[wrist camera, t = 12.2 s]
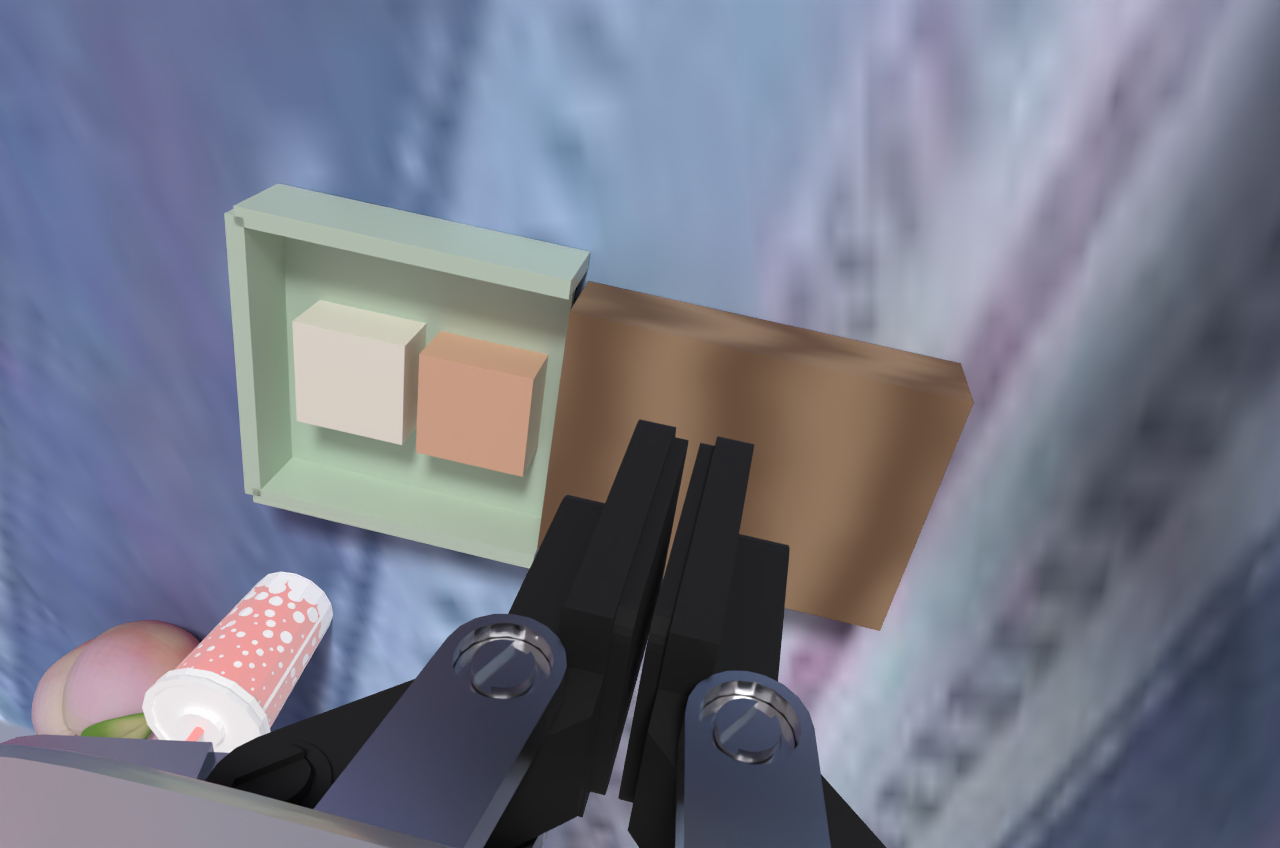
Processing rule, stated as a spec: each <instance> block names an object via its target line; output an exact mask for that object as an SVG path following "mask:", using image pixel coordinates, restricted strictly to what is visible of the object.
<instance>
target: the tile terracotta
mask: <svg viewBox="0 0 1280 848" xmlns="http://www.w3.org/2000/svg"><path fill="white" fill-rule="evenodd" d="M547 363H548V354H543V353H539V352H534V351H530V350H525V349H521V348H516V347H511V346H507V345H502V344H498V343H493V342H489V341H484V340H480V339H475V338H471V337H466V336H461V335H457V334H452V333H448V332H443V331H440V332H439V333H438V334H437V335H436V336H435V337H434V338H433V340H432V341H431V342H430V343H429V344H428V345H427V346H426V347H425V348H424V350H423V351H422V352H421V353H420V354H419V377H418V406H417V434H416V453H421V454H425V455H429V456H434V457H438V458H442V459H447V460H451V461H456V462H460V463H464V464H469V465H473V466H477V467H482V468H486V469H490V470H495V471H499V472H504V473H508V474H512V475H517V476H521V477H523V476H524V474H525V472H526V470H527V468H528V466H529V464H530V462H531V460H532V458H533V456H534V454H535V452H536V450H537V448H538V440H539V431H540V423H541V414H542V406H543V397H544V389H545V380H546V372H547Z"/></svg>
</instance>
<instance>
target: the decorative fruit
mask: <svg viewBox="0 0 1280 848" xmlns="http://www.w3.org/2000/svg"><path fill="white" fill-rule="evenodd" d="M199 644H200V642H199V641H198V639H197V638H195V637H194V636H193V635H192V634H191V633H189V632H188V631H186V630H185V629H182V628H180V627H178V626H176V625H173V624H170V623H166V622H162V621H156V620H143V621H135V622H129V623H125V624H121V625H118V626H115V627H113V628H111V629H109V630H107V631H105V632H104V633H102V634H101V635H99V636H98V637H96V638H94V639H92V640H90V641H88V642H86V643H84V644H82V645H80V646H79V647H77V648H76V649H74V650H72V651H71V652H69V653H68V654H66V655H65V656H63V657H62V658H60V659H59V660H58V661H57V662H55V663H54V664H53V665H52V666H51V667H50V668H49V669H48V670H47V671H46V673H45V674H44V675H43V677H42V679H41V680H40V682H39V684H38V686H37V689H36V692H35V695H34V699H33V704H32V722H33V726H34V729H35V732H36V735H43V734H45V735H67V736H88V737H110V738H132V739H154V740H159V739H158V737H157V736H156V735H155V734H154V732H153V731H152V730H151V729H150V727H149V726H148V725H147V722H146V719H145V715H144V712H143V709H142V705H143V701H144V697H145V693H146V692H147V690H148V689H149V688H150V687H152V686H153V685H154V684H155V683H156V681H157V680H158V679H159V678H161V677H162V676H163V675H164V674H166V673H167V672H168V671H171V670H174V669H175V668H176V667H177V666H178V665H179V664H180V663H181V662H182V661H183V660H184V659H185V658H186V657H187V656H188V655H189V654H190V653H191V652H192V651H193V650H194V649H195V648H196V647H197V646H198V645H199Z"/></svg>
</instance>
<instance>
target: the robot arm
mask: <svg viewBox="0 0 1280 848" xmlns="http://www.w3.org/2000/svg"><path fill="white" fill-rule="evenodd" d="M675 435H676V427H673V426H669V425H664V424H659V423H655V422H650V421H646V420H641V419H639V420H638V423H637V425H636V427H635V430H634V432H633V435H632V437H631V440H630V442H629V445H628V447H627V450H626V452H625V455H624V457H623V460H622V462H621V465H620V467H619V470H618V472H617V475H616V477H615V480H614V482H613V485H612V487H611V490H610V492H609V495H608V497H607V500H606V502H605V503H602V502H597V501H593V500H589V499H584V498H580V497H576V496H571V495H566V496H565V497H564V498H563V500H562V502H561V503H560V505H559V508H558V510H557V512H556V514H555V516H554V518H553V520H552V522H551V525H550V527H549V529H548V531H547V533H546V535H545V537H544V539H543V541H542V544H541V546H540V548H539V550H538V552H537V554H536V556H535V558H534V560H533V563H532V565H531V567H530V569H529V571H528V573H527V575H526V577H525V580H524V582H523V584H522V586H521V588H520V590H519V592H518V594H517V596H516V599H515V601H514V603H513V605H512V607H511V609H510V611H509V613H508V614H492V615H488V616H483V617H479V618H475V619H473V620H471V621H469V622H467V623H465V624H463V625H461V626H460V627H459V628H457V629H456V630H455V631H454V632H453V633H452V634H451V635H450V636H449V637H448V638H447V639H446V640H445V642H444V643H443V644H442V645H441V647H440V648H439V649H438V651H437V652H436V653H435V654H434V656H433V657H432V658H431V659H430V661H429V662H428V663H427V665H426V666H425V667H424V668H423V670H422V671H421V672H420V674H419V675H418V676H417V677H416V679H414V680H411V681H408V682H405V683H403V684H400V685H397V686H395V687H392V688H389V689H386V690H384V691H381V692H378V693H376V694H373V695H370V696H368V697H365V698H362V699H359V700H357V701H354V702H351V703H349V704H346V705H343V706H340V707H338V708H335V709H332V710H330V711H327V712H324V713H321V714H319V715H316V716H313V717H311V718H308V719H305V720H302V721H300V722H297V723H294V724H292V725H289V726H286V727H284V728H281V729H278V730H275V731H273V732H270V733H267V734H265V735H262V736H259V737H257V738H255V739H253V740H251V741H249V742H247V743H245V744H243V745H241V746H239V747H237V748H235V749H234V750H233V751H231V752H230V753H224V752H214V749H213V744H212V742H197V741H175V740H154V739H132V738H110V737H88V736H67V735H45V734H43V735H33V736H23V737H17V738H14V739H11V740H8V741H6V742H3V743H0V848H543V845H544V842H545V838H546V834H547V831H549V830H551V829H553V828H555V827H557V826H559V825H561V824H563V823H565V822H567V821H569V820H571V819H573V818H575V817H577V816H579V817H583V814H584V810H585V807H586V803H587V800H588V796H589V793H590V791H591V792H595V793H598V794H602V795H605V794H606V791H607V788H608V784H609V781H610V777H611V773H612V769H613V766H614V762H615V758H616V755H617V751H618V747H619V744H620V740H621V736H622V732H623V729H624V725H625V721H626V718H627V714H628V710H629V707H630V703H631V699H632V696H633V692H634V688H635V684H636V681H637V677H638V673H639V670H640V666H641V662H642V659H643V655H644V651H645V647H646V644H647V647H646V652H645V658H644V663H643V668H642V674H641V679H640V685H639V690H638V695H637V701H636V706H635V711H634V717H633V722H632V728H631V733H630V738H629V744H628V749H627V754H626V760H625V765H624V771H623V776H622V781H621V787H620V792H619V799H621V800H625V801H629V802H633V807H632V812H631V817H630V822H629V827H628V831H629V833H630V834H631V836H632V837H633V839H634V840H635V842H636V843H637V845H638V846H639V848H886V847H885V846H884V844H883V843H882V842H881V841H880V840H879V839H878V838H877V837H876V835H875V834H874V833H873V832H872V831H871V830H870V829H869V828H868V826H867V825H866V824H865V823H864V822H863V821H862V820H861V819H860V817H859V816H858V815H857V814H856V813H855V812H854V811H853V810H852V809H851V807H850V806H849V805H848V804H847V803H846V802H845V801H844V800H843V798H842V797H841V796H840V795H839V794H838V793H837V792H836V791H835V789H834V788H833V787H832V786H831V785H830V784H829V783H828V782H827V780H826V779H825V778H824V777H823V776H822V775H821V773H820V766H819V758H818V751H817V744H816V737H815V730H814V726H813V723H812V720H811V717H810V714H809V712H808V710H807V709H806V707H805V706H804V705H803V703H802V702H801V700H800V699H799V697H798V696H796V695H795V694H794V693H793V692H792V691H790V690H789V689H788V688H787V687H786V686H784V685H783V684H781V683H779V682H778V673H779V662H780V651H781V640H782V629H783V619H784V608H785V597H786V586H787V575H788V564H789V550H790V548H789V545H786V544H781V543H777V542H773V541H768V540H764V539H759V538H755V537H751V536H746V535H742V534H739V531H740V526H741V520H742V514H743V508H744V502H745V497H746V491H747V485H748V479H749V473H750V468H751V462H752V456H753V450H754V444H751V443H747V442H742V441H738V440H733V439H728V438H724V437H719V436H717V439H716V443H715V446H713V445H709V444H704V443H700V446H699V449H698V453H697V457H696V460H695V464H694V468H693V471H692V475H691V479H690V482H689V486H688V490H687V493H686V497H685V501H684V505H683V508H682V512H681V516H680V519H679V523H678V527H677V530H676V534H675V538H674V541H673V545H672V549H671V552H670V556H669V560H668V564H667V567H666V571H665V575H664V570H665V565H666V559H667V554H668V549H669V544H670V538H671V533H672V528H673V522H674V517H675V512H676V507H677V501H678V496H679V491H680V485H681V480H682V475H683V469H684V464H685V459H686V454H687V448H688V442H689V440H686V439H681V438H677V437H675ZM663 575H664V578H663ZM662 581H663V582H662ZM661 585H662V586H661ZM648 636H649V637H648ZM647 640H648V642H647Z"/></svg>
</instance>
